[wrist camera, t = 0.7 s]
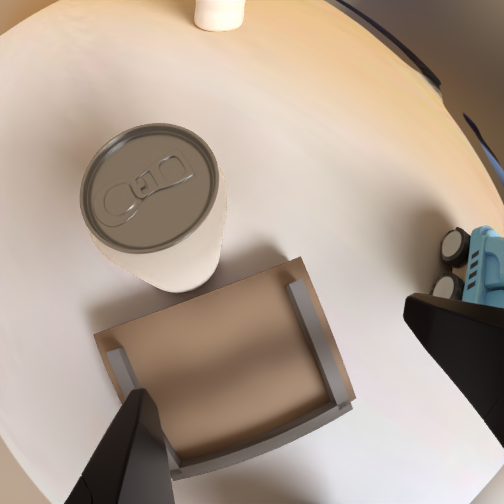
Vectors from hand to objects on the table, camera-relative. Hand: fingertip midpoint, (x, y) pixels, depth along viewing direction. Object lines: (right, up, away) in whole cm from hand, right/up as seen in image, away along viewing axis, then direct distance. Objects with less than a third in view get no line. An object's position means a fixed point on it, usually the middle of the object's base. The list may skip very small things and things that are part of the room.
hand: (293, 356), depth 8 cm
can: (-7, +3, +13) cm, 15 cm away
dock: (-3, -6, +12) cm, 14 cm away
